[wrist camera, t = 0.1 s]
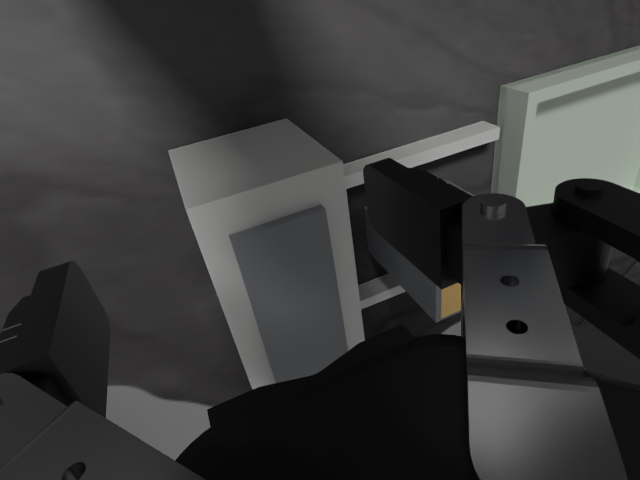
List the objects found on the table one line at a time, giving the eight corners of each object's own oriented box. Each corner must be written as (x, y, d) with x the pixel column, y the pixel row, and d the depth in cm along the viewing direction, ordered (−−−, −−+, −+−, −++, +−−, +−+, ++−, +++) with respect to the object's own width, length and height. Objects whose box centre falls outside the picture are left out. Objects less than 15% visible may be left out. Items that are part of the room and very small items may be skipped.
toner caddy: (363, 207, 35) (436, 272, 27) (445, 178, 37) (537, 231, 29) (367, 251, 37) (436, 323, 29) (444, 222, 39) (528, 282, 31)
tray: (500, 85, 34) (529, 93, 32) (676, 34, 39) (713, 37, 36) (485, 247, 43) (507, 262, 40) (630, 189, 48) (657, 199, 45)
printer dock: (167, 150, 27) (187, 215, 19) (486, 63, 32) (599, 86, 25) (250, 375, 39) (282, 470, 31) (471, 282, 45) (543, 342, 37)
